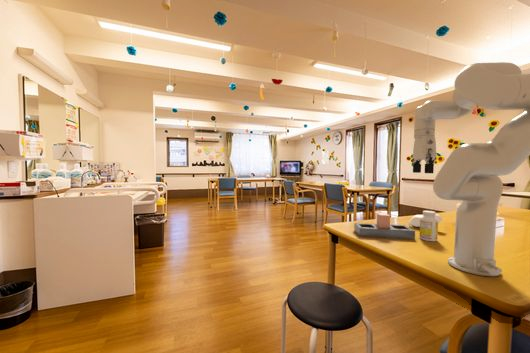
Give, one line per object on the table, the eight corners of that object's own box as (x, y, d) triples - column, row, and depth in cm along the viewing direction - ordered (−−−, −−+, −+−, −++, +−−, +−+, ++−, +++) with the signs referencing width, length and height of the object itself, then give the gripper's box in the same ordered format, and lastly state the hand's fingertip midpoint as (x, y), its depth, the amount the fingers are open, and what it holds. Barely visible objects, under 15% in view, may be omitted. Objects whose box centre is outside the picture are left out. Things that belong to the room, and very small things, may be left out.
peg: (389, 236, 106) (390, 215, 105) (379, 236, 106) (380, 215, 106) (385, 233, 110) (386, 213, 110) (376, 233, 111) (377, 213, 110)
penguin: (410, 233, 122) (443, 228, 111) (404, 217, 124) (436, 211, 113) (416, 230, 128) (447, 225, 117) (410, 215, 130) (440, 209, 119)
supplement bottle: (431, 237, 105) (432, 210, 104) (440, 242, 98) (442, 213, 98) (416, 236, 106) (417, 209, 105) (424, 241, 99) (425, 212, 98)
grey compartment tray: (414, 239, 102) (415, 230, 102) (359, 236, 105) (359, 228, 105) (404, 232, 112) (404, 225, 111) (354, 230, 115) (354, 222, 115)
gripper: (446, 131, 90) (444, 173, 91) (422, 136, 107) (421, 172, 108) (426, 131, 91) (424, 173, 92) (405, 137, 108) (404, 172, 109)
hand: (422, 172), depth 100 cm, fingers open, 9 cm apart
